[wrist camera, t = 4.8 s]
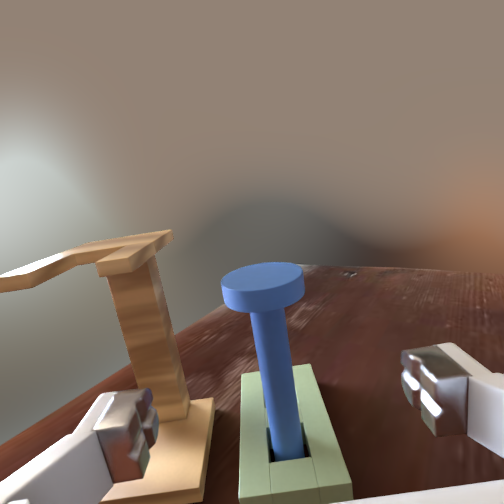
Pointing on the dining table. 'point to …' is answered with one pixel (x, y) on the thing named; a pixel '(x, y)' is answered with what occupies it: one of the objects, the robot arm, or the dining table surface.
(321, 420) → the holder
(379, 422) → the dining table surface
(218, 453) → the dining table surface
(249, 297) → the peg
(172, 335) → the stand
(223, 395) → the dining table surface
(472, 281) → the dining table surface
